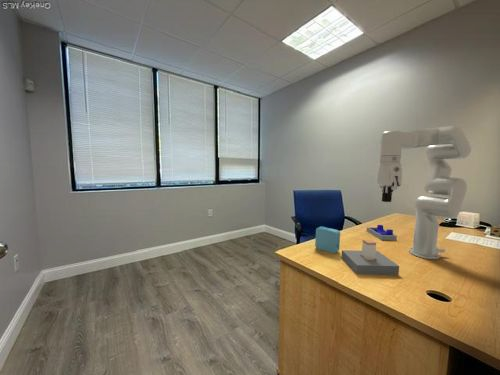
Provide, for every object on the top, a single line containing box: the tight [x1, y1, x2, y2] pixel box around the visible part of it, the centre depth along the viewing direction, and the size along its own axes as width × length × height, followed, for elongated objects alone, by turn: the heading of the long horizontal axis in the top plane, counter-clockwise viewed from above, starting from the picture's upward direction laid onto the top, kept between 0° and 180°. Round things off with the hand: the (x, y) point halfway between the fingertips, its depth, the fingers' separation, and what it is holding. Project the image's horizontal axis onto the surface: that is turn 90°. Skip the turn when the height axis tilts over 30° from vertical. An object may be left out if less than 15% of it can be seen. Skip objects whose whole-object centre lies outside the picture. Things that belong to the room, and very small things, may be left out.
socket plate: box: [341, 249, 400, 276], centre depth 99 cm, size 18×16×4 cm
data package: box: [314, 226, 341, 254], centre depth 117 cm, size 12×4×12 cm, turn 45°
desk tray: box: [366, 226, 398, 241], centre depth 142 cm, size 10×18×3 cm, turn 179°
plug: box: [361, 239, 377, 260], centre depth 99 cm, size 4×4×12 cm
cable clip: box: [375, 224, 394, 235], centre depth 142 cm, size 12×4×6 cm, turn 179°
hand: (386, 201), depth 94 cm, fingers closed
